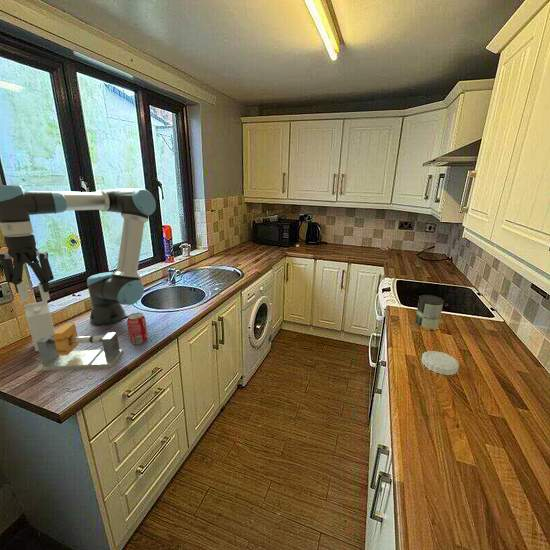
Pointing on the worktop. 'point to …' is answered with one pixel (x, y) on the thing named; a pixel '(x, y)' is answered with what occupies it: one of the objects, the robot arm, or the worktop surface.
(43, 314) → the milk carton
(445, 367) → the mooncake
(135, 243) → the robot arm
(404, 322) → the worktop surface
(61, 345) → the orange tall block
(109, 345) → the pipe stand
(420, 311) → the coffee can
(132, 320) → the soda can
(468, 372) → the worktop surface
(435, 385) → the worktop surface
